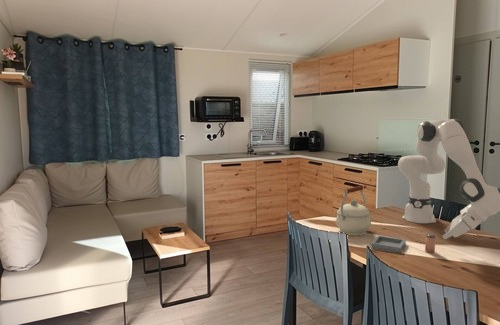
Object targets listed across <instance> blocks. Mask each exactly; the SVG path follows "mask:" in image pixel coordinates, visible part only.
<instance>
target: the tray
mask: <svg viewBox="0 0 500 325" xmlns="http://www.w3.org/2000/svg"><path fill="white" fill-rule="evenodd" d="M406 241H407V240H406V239H404V238H397V237H391V236H384V235H379V234H378V235H377V236H376V237H375V238H374V239H373V240H372V242H371V249H376V250H379V251H380V250H381V251H387V252H393V253H397V254H401V253H402V251H403V250H404V248H405V247H406V245H407V244H406Z"/></svg>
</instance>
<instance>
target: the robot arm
mask: <svg viewBox="0 0 500 325" xmlns="http://www.w3.org/2000/svg"><path fill="white" fill-rule="evenodd" d="M417 136H418V137H417V141H416V144H415V151H416V152H417V153H418V155H405V156H401V157H400V158H399V159H398V163H397V168H398V170H399V171H400V173H402V174H403V175H404V176H405V177H406V178H407V181H408V184H409V195H408V198H407V199H408V203H407V204H405V210H404V215H402V216H401V219H403V220H405V221H408V222H411V223H415V224H432V223H433V224H434V223H437V219H436V218H435V215H434V213H433V210H434V208H433V207H432V205H431V201H432V198H431V184H430V183H429V182H428V181H427V180H425V179H423V178H421V175H437V174H441V173H442V172H444V170H445V169H446V162H445V159H444V158H443V157H442V156H440V154H438V148H439V144H440V142H441V145H442V149H443V150H444V152H445V154H446V155H447V157H448V158H449V160H452V161H453V162H454V163H455V164H456V165H458V166H459V168H461V170H462V171H463V173H464V175H465V176H466V179H464V180H463V181H462V182H461V184H460V186H459V192H460V194H461V195H462V197H463V198H465V199H467V201H469V204H467V206H465V207H464V208H462V209H461V210H460V211H459V213H460V214H459V215H457V216H456V217H454V218H453V219H452V220H451V223H450V224H449V225H448V226H447V227H446V228H444V232H445V233H444V234H443V235H442V238H443V239H444V240H447V239H449V238H451V237H454V238H458V237H460V236H461V235H463V234H465V233H467V232H468V231H470V230H474V229H476V228H477V227H478V226H479V225H481V224H483V223H484V222H486V221H487V219H488V218H489V217H492V216H494V215H495V214H497V213H498V212H500V188H499V187H496V186H492V185H489V184H488V183H487V181H486V179H485V177H484V176H483V174H482V172H481V169H480V167H479V165H478V163H477V160H476V158H475V155H474V152H473V150H472V146H471V144H470V141H469V139H468V137H467V134H466V133H465V124H464V122H463V121H462V120H461V119H458V118H444V119H443V118H441V119H434V120H428V121H423V122H420V123H419V125H418V126H417Z"/></svg>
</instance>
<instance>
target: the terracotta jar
mask: <svg viewBox="0 0 500 325" xmlns="http://www.w3.org/2000/svg"><path fill="white" fill-rule="evenodd" d="M435 250H436V235H435V234H433V233H427V234H426V236H425V248H424V251H425V253H428V254H435Z"/></svg>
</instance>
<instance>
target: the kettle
mask: <svg viewBox="0 0 500 325" xmlns="http://www.w3.org/2000/svg"><path fill="white" fill-rule="evenodd" d="M363 190H364V185H358V186H352V187H350V188H349V187H348V188H345V189H344V197H343V200H342V202H341V204H340V207H339V208H338V209H337V210H336V214H337V215H336V219H335V224H336V226H337V227H338V229H339V232H340V233H341V232H344V233H347V234H348V235H347V236H352V235H354V236H356V237H358V235H360V236H364V235H366V234H367V231H369V229H370V228H371V225H372V220H371V217H370V216H371V212H370V211H369V207H366V205H367V204H366V203H367V200H366V196H365V195H364V192H363ZM359 191H360V192H359ZM355 192H359V193H360V195H361V197H362V198H363V203H362V204H359V203H358V201H357V200H356V199H352V200H351V201H349V202H350V203H346V204H345V202H346V201H347V198H348V195H349V194H352V193H355Z"/></svg>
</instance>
